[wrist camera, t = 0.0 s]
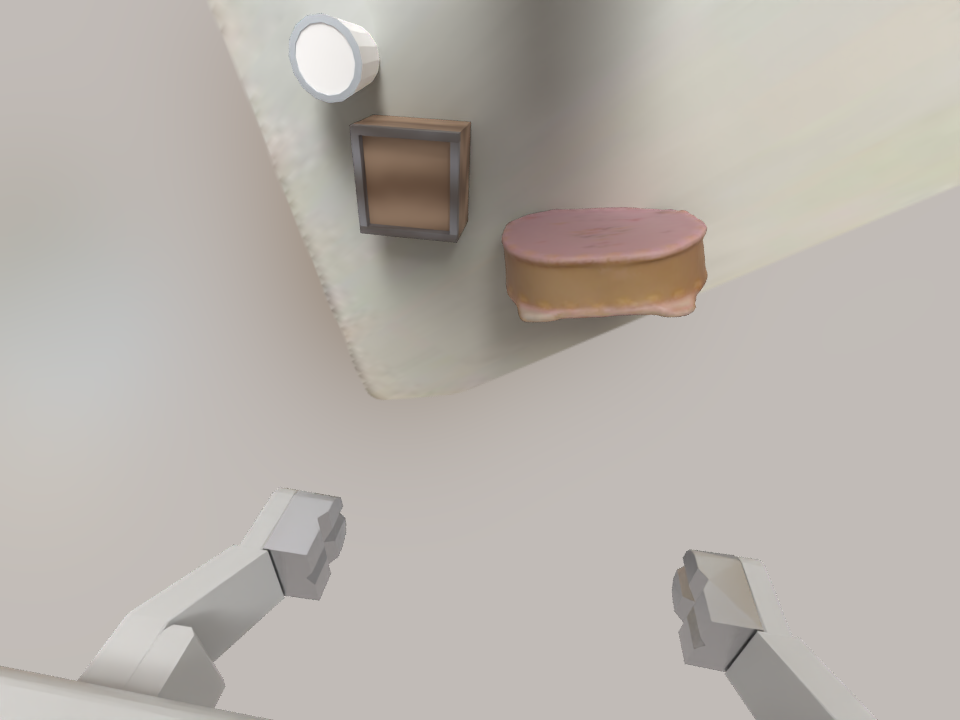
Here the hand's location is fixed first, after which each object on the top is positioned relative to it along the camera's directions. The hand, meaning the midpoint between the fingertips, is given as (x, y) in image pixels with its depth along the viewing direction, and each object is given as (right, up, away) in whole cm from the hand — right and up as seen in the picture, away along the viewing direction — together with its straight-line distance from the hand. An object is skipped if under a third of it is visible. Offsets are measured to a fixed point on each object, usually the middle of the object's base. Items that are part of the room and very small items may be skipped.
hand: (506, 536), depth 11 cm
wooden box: (-7, +26, +43) cm, 50 cm away
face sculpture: (+13, +20, +43) cm, 49 cm away
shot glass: (-14, +35, +37) cm, 53 cm away
